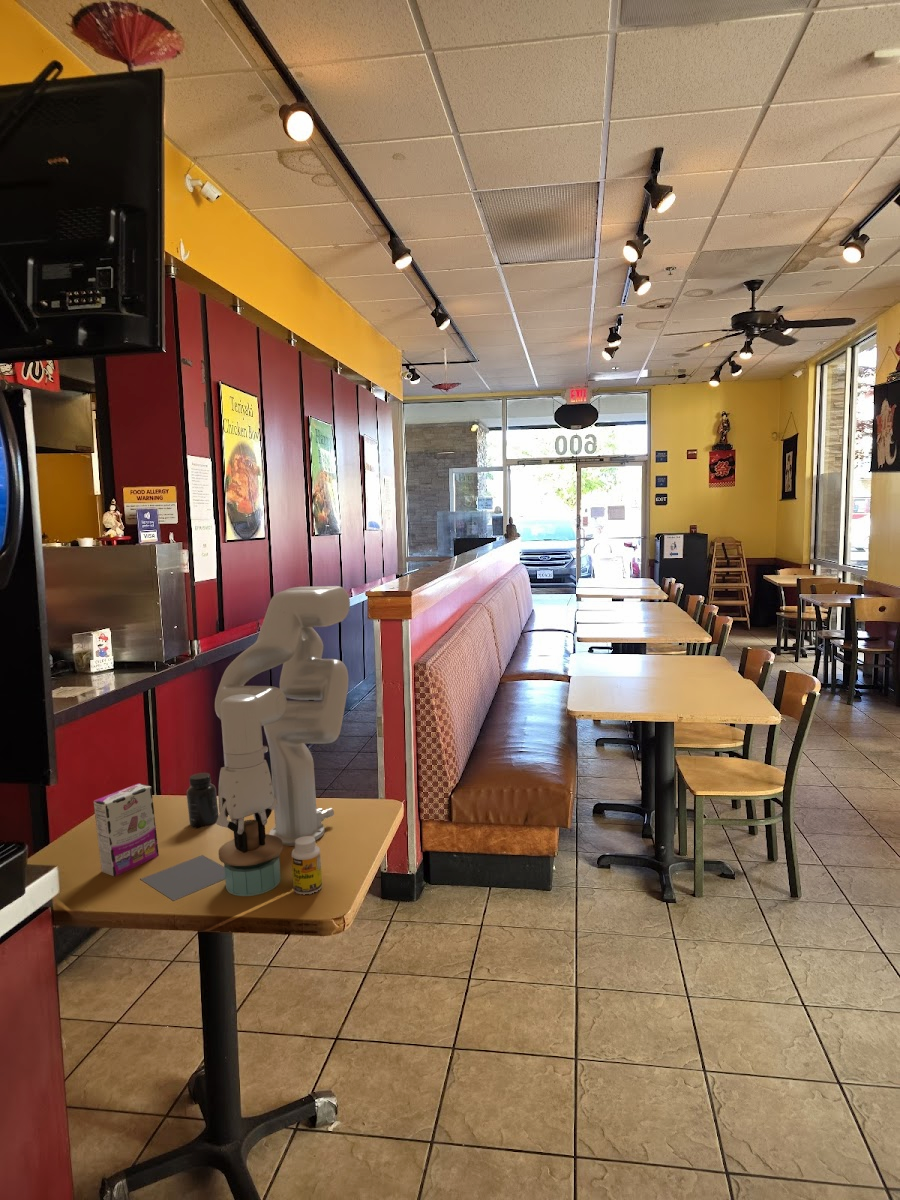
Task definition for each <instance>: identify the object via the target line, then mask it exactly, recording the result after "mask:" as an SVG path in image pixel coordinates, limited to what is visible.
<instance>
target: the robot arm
mask: <svg viewBox="0 0 900 1200" xmlns="http://www.w3.org/2000/svg"><path fill="white" fill-rule="evenodd" d="M350 600H351V599H350V596H349V593H348V592H347V590H346V589H345V588H344V587H342V586H339V585H333V586H332V585H329V586H328V585H327V586H322V585H321V586H320V585H319V586H295V587H289V588H287V589H285V590H282V591H278V592H276V593H275V594H274V595H273V596H272V597H271V598H270V602H269V603H268V607H267V609H266V612H265V614H264V615H265V616H264V618H263V621H262V624H261V627H260V631H259V633H258V636H257V639H256V640H255V642H254V643H253V644H252V645H250V646H249V647H247V648H246V649H245V650H244V651H242V652H241V653H240V654H239V655H237V656H236V657H235V659H233V661H231V662H230V663H229V665H228V666H227V667H226V669H225V670H224V672H223V674H222V676H221V680H220V682H219V684H218V687H217V691H216V695H215V698H214V711H215V714H216V716H217V717H218V718H219V720H220V722H221V733H222V747H223V749H222V750H223V761H224V766H223V767H220V771H219V778H218V797H217V800H218V814H219V816H218V819H217V822H216V823H215V824H216V825H218V826H220V827H223V828H227V829H229V830H230V831H231V832H233V839H234V842H235V847H236V849H237V850H239V851H241V852H243V853H245V852H247V850H248V849H247V836H246V833H245V832H243V830H244V821H245V818H246V817H249V816H252V815H253V820H257V821H258V832H259V844H260V845H265V837H266V836H265V834H266V825H267V824H268V819H269V817H270V816H271V814H272V812H273V811H274V813H273V814H274V823H275V824H274V827H273V828H270V831H269V832H268V835H273V836H277V837H279V838H280V839H281V840H282V843H283V847H284V846H285V847H295V840H296V839H297V838H300V837H303V836H312V837H314V838H315V841H317V840H319V839H320V838H322V836H323V835H324V834H325V831H326V830H325V825H324V824H323V823H322V822H323V821H324V820H326V819H328V818H331V817H333V816H334V815H335V811H334V808H332V807H329V808H326V809H324V810H323V808H321V807H319V808H317V798H316V781H315V780H316V779H315V765H314V759H313V755H312V752H311V751H310V749H309V748H308V747H307V745H306V744H314V745H315V744H324V745H325V744H332V743H334V742H336V740H337V739H338V738H339V736H340V734H341V731H342V730H341V729H342V726H343V720H344V714H345V709H346V702H347V697H348V692H349V691H348V689H349V671H348V668H347V666H346V665H345V663H344V662H343V661H341V660H339V659H335V658H322V657H323V652H324V643H323V640H322V638H321V636H320V635H319V634H318V632H317V631H316V630H315V629H314V628H318V627H319V628H324V627H325V628H326V627H330V626H332V625H333V626H334V625H335V624H338V623H341V622H343V621H344V620H345V619H346V618H347V616H348V614H349V611H350V609H351V608H350V606H351V601H350ZM280 665H282V669H281V671H280V677H279V687H276V686H271V685H246V683H248V682H249V681H250V680H251V679H252V678H253V677H255V676H257V675H258V674H261V673H262V672H263V673H264V672H265V671H268V670H271V669H273V668H275V667H278V666H280ZM287 699H290V700H287ZM291 699H292V700H291ZM262 727H263V729H264V735H265V737H266V738H265V739H266V741H267V745H263V741H264V740H263V729H262ZM267 752H269V758H270V759H269V760H270V768H269V765H268V762H267V760H266V759H265V754H266V753H267ZM270 771H271V772H270ZM228 817H229V819H230V820H229V819H228Z"/></svg>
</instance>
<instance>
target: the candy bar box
mask: <svg viewBox="0 0 900 1200" xmlns="http://www.w3.org/2000/svg"><path fill="white" fill-rule="evenodd" d="M153 798H154V797H153V790H152V786H150V785H147V784H143V783H136V784H133V785H131V786H128V787H126V788H123V789H120V790H117V791H116V792H115V791H114V792H113V793H111V794H107V795H105V796H102V797H100V798H97V799H94V800H93V810H94V818H95V819H94V820H95V826H96V827H95V828H96V834H97V845H98V851H99V859H100V860H99V861H100V866H101V867H100V869H101V872H102V873H105V874H107V875H110V876H112V877H117V876H119V875H121V874H123V873H125V872H127V871H130V870H131V869H134V868H136V867H138V866H140V865H142V864H144V863H146V862H148V861H151V860H153V859H155V858H156V857H159V856H160V853H159V846H158V845H159V844H158V836H157V825H156V818H155V809H154V800H153Z"/></svg>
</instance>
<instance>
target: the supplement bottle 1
mask: <svg viewBox="0 0 900 1200" xmlns="http://www.w3.org/2000/svg"><path fill="white" fill-rule="evenodd" d="M188 779H189V788H188V789H187V790H186V800H187V803H186V804H187V810H188V818H189V826H190V827H192V828H193V829H201V828H203V827H207V826H208V827H209V826H211V825H215V824H216V822H217V819H218V816H219V814H220V813H219V804H218V797H217V788H216V786H215V785H214V783H213V784H212V783H211V782H212V779H211V774H210V773H209V772H198V773H195V774H192V775H190V777H189V778H188Z"/></svg>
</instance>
